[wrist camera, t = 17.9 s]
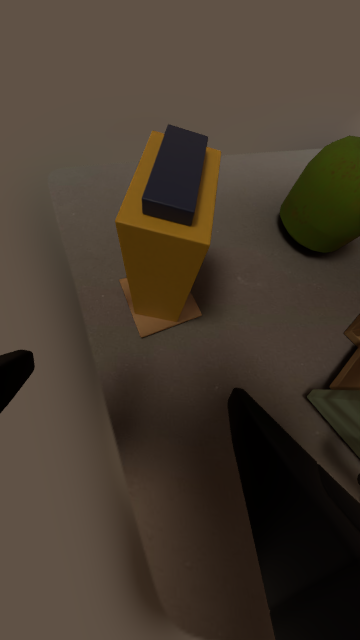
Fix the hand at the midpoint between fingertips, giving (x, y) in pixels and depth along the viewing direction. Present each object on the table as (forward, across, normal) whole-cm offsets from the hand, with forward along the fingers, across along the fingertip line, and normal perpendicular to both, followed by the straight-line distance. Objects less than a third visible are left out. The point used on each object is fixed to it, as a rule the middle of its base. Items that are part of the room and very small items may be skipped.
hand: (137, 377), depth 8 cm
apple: (+25, -19, -12) cm, 33 cm away
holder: (+13, 0, -1) cm, 13 cm away
